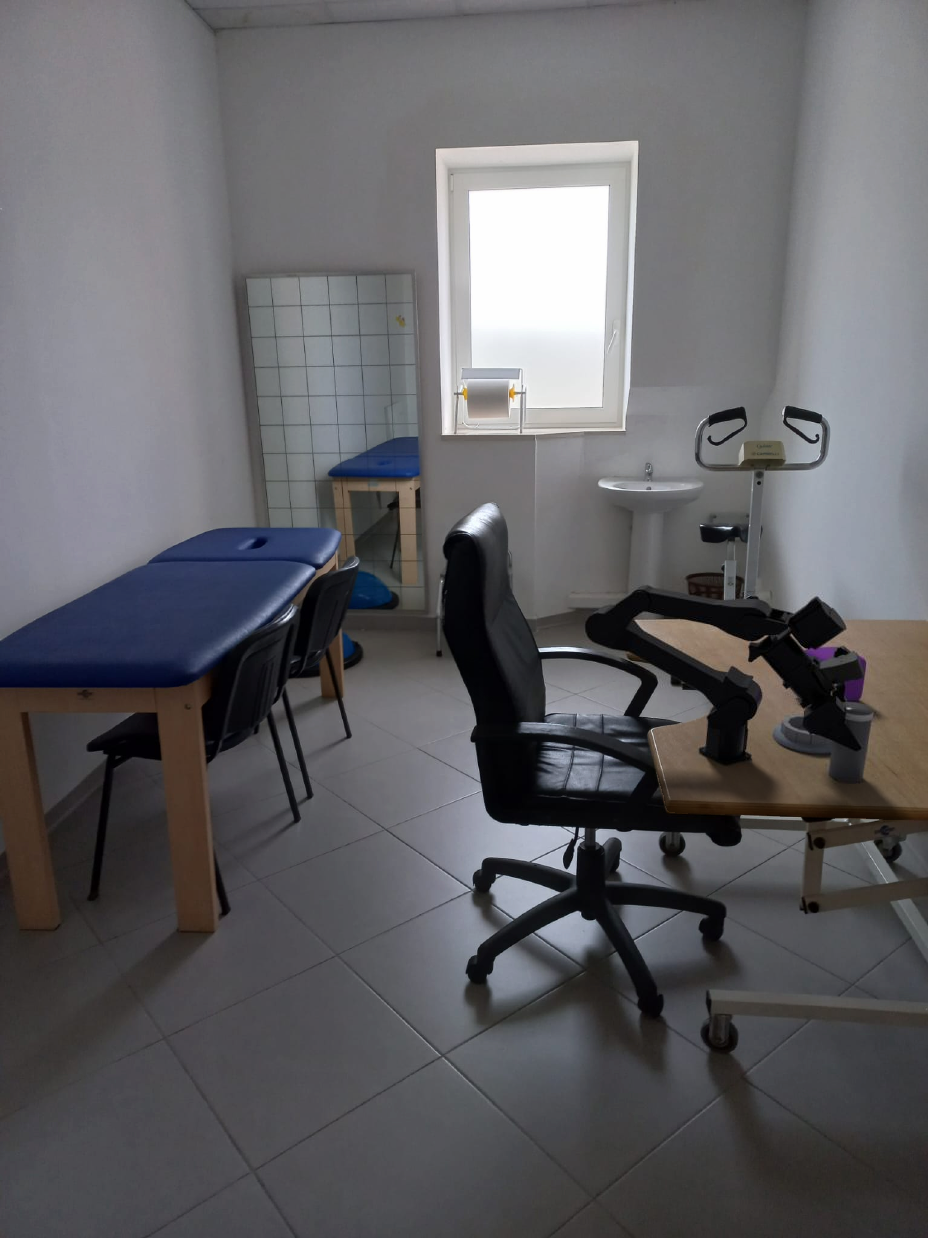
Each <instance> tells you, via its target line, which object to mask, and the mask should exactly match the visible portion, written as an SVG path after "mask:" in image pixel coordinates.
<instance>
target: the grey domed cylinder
mask: <svg viewBox="0 0 928 1238" xmlns="http://www.w3.org/2000/svg"><path fill="white" fill-rule="evenodd" d="M842 704H843V705H844V707H846V718H845V721H846V722H847V724H848V726H849V727H850V729H851V730H852V732H853V733H854V735H855V736H856V738H857V740H858V741H859V743H860V745H861V746H862V749H861V750H859V751H857V752H856V751H854V750H851V749H849V748H847V747H845V746H843V745H841V744H838V743H836V742H834V741H833V743H832V750H831V753H830V757H829V764H828V772H827V773H828V776H829V777H830V778H832V779H834V780H836V781H837V782H838V781H839V782H841V783H845V784H858V783H861V782H862V781H864V780H863V779H864V773H865V772H864V771H865V767H866V761H867V760H866V759H867V753H868V748H869V741H870V733H871V729H872V728H871V726H872V720H873V718H874V709H873V708H872V707H871V706H868V705H866V704H865V703H864V704H863V703H860V702H857V701H847V702H842Z"/></svg>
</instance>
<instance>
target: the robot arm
mask: <svg viewBox="0 0 928 1238" xmlns="http://www.w3.org/2000/svg"><path fill="white" fill-rule="evenodd" d="M642 613H650V614H654V615H659V616H665V617H670V618H675V619H680V620H685V621H690V622H695V623H699V624H704V625H708V626H713V627H715V628H717V629H718V630H721V631H722V632H724V633H726V634H727V635H730V636H732V637H735V638H737V639H740V640H744V641H747V642H749V644H748V646H747V647H748V658H747V661H748V663H753V662H754V661H755V660H757V659H758V658H760V657H761V658H762V659H763V660H764V661H765V663H767V665H768V666H769V667H770V668H771V669H772V670H773V671H774V672H775V673H776V675H777V676H778V677H779V678H780V679H781V680H782V684H781V686H783V687H784V689H785V690H788V689H790V691H792V693H793V694H794V695H795V696H796V697H797V698H798V699H799V705H800V706H801V708H802V709H804V710H803V714H802V715H803V725H802V726H803V727H804V728H805V729H806V730H807V731H808V732H809V734H810V735H811V734H814V735H819V736H822V737H824V738H827V739H829V740H832V741H834V742H836V743H838V744H841V745H843V746H845V747H847V748H849V749H851V750H854V751H856V752H857V751H859V750H861V749H862V746H861V745H860V743H859V741H858V740H857V738H856V736H855V735H854V733H853V732H852V730H851V729H850V727H849V726H848V724H847V722H846V721H845V718H846V707H844V705H843V704H842V702H848V701H847V700H846V698H845V687H846V685H845V682H846V681H850V680H858V679H861V678H863V677H864V673H863V671H864V670H863V667H862V665H861V662H860V660H859V657H858V655H859V653H858V652H857V651H855V650H850V649H848V648H847V647H846V646H845V645H841V646H836V647H837V648H835V650H834V656H833V658H831V657H830V658H829V659H828V660H825V661H822V662H821V661H820V660H819V659H818V658H817V657H813V656H811V657H810V656H809V655H808V654H807V653H806V652H805V650H806V649H811V648H812V649H814V650H817V649H818V648H820V647H824V645H825V644H827V643H829V642H830V641H831V640H833V639H835V638H836V637H837V636H838V635H840V634H842V633H843V632H844V631H846V630H847V625H846V623H845V621H844V620H843V618H842V617H841V615H840V614H839V613H838V611H837V610H836V609H835V608H833V607H831V606H830V605H829V604H828V603H826V602H825V601H822V599H821V598H820V597H819V596H815V597H813V598H812V599H810V600H809V601H808V602H807V603H806V605H804V606H803V607H801V608H799V609H798V610H797V611H795V612H794V613H793V612H792V611H791V612H790V611H786V610H784V609H780V608H776V607H775V608H774V607H771V606H770V605H769V603H768V602H767V601H764V600H763V599H758V598H733V599H732V598H731V599H714V598H710V597H705V596H699V595H693V594H688V593H683V592H677V591H673V590H667V589H662V588H657V587H653V586H651V585H648V584H647V585H646V584H642V585H639V586H638V587H637V588H636V589H634V591H632V592H631V593H630V594H629V595H627V596H626V597H624V598H623V599H622V600H620V601H618V602H616V604H607V605H603V606H602V607H600V608H598V609H597V610H596V611H595V612H593V613H592V614H591V615H589V616H588V618H587V619H586V620H585V624H584V630H585V634H586V638H587V639H589V641H590V642H592V643H594V644H596V645H599V646H602V647H605V648H607V649H609V650H613V651H620V652H624V653H625V652H626V653H630V654H632V655H634V656H635V657H637V658H638V659H641V660H642V661H644V662H646V663H648V664H650V665H651V666H653V667H655V668H657V669H658V670H660V671H662V672H664V673H666V674H668V675H669V676H671V677H673V678H675V679H676V680H679V681H680V682H682V683H684V684H686V685H687V686H689V687H691V688H692V689H695V690H696V691H698V692H699V693H701V694H702V695H703V696H705V698H706V699H707V700H708V701H709V703H710V704H711V705H712V707H711V708H710V710H709V712H708V714H707V715H706V719H707V726H706V727H707V728H706V736H705V737H706V739H705V745H704V746H702V747H698V752H700V753H701V754H704V755H705V756H707V757H709V758H711V759H713V761H716V762H718V763H720V764H721V765H730V764H733V763H737V762H741V761H745V760H748V759H751V758H752V757H753V755H752V754H751V753H749V752H747V747H748V737H749V727H748V726H749V721H750V720H752V719H753V718H754V717H755V716H756V714H757V712H758V710H759V707H760V705H761V702H762V701H763V690H762V688H761V685H759V683H758V682H756V681H755V680H754V675H750V674H746V673H744V672H743V671H741V670H740V669H738V667H736V666H734V665H730V667H729V669H728V671H724V670H718V669H715V668H713V667H710V666H709V665H708V664H705V663H704V662H702V661H700V660H698V659H696V658H695V657H694V656H690V654H687V653H686V652H684V651H682V650H680V649H678V648H676V647H674V646H673V645H671V644H669V643H667V642H666V641H663V640H662V639H659V638H658V637H656V636H654V635H652V634H651V633H649V632H647V631H645V630H644V629H643V628H642V627H641V626H640V625H639V624H638V622H637V621H636V620H635V618H636V617H637V616H638V615H639V616H640V615H641V614H642ZM765 636H766V637H765ZM764 637H765V638H764ZM761 639H762V640H761ZM759 640H760V641H759ZM758 641H759V642H758ZM850 651H851V652H852V653H851V652H850ZM857 653H858V654H857ZM837 684H838V685H837Z"/></svg>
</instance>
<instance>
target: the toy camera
mask: <svg viewBox="0 0 928 1238" xmlns="http://www.w3.org/2000/svg"><path fill="white" fill-rule="evenodd" d="M837 647H838V646H821V647H820V648H818V649H817V650H814V649H812V648H811V649H804V651H805V652H806V653H807V654H808V655H809V656H810V657H811V656H813V657H817V658H818V659H819V660H820V661H821V662H822V661H825V660H828V659H829V658H830V657H831V658H833V656H834V650H835V648H837ZM849 651H850V652H851V653H852V650H849ZM857 654H858V657H859V660H860V662H861V665H862V667H863V670H864V671H863V673H864V677H863V678H861V679H858V680H850V681H846V682H845V685H846V687H845V698H846V700H847V702H857V701H859V700H861V698H862V696H863V692H864V684H865V676H866V670H867V669H866V668H867V661H866V659H865V658H864V657H862V656H861V655H859V653H858V652H857ZM837 685H838V684H837Z"/></svg>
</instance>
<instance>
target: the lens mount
mask: <svg viewBox="0 0 928 1238" xmlns="http://www.w3.org/2000/svg"><path fill="white" fill-rule="evenodd" d="M803 715H804V714H791V715H788V716H784V718H783V719H782V720H781V723H779V724H777V725H775V726H774V727H773V731H772V738H773V739H774V741H775V742H776V743H778V744H780V745H781V746H783V747H784V748H787V749H791V750H793V751H796V752H800V753H805V754H812V755H828V754H829V755H831V750H832V743H833V741H832V740H829V739H827V738H824V737H822V736H819V735H814V734H811V735H810V734H809V732H808V731H807V730H806V729H805V728H804V727H803V726H802V725H803Z"/></svg>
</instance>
